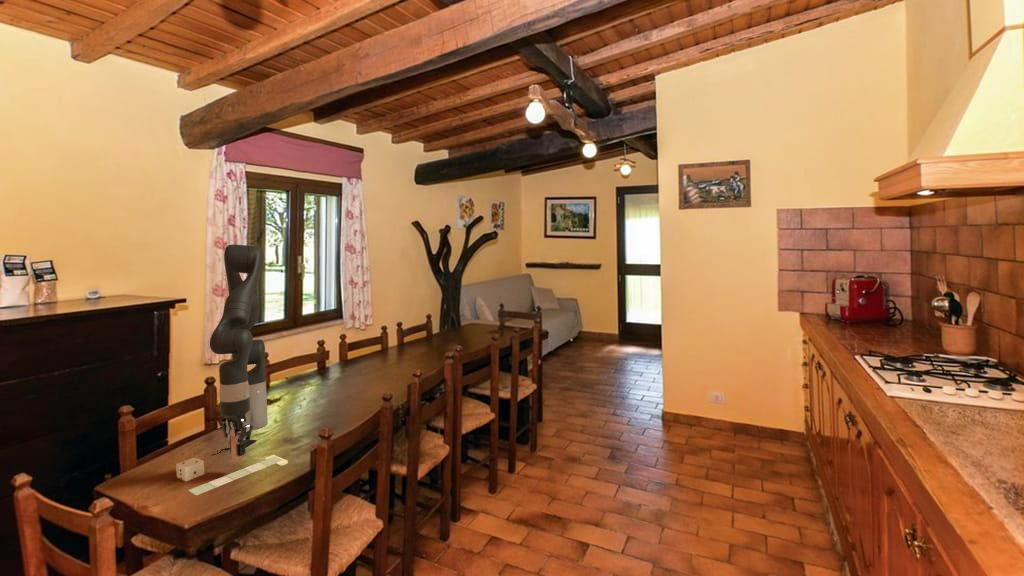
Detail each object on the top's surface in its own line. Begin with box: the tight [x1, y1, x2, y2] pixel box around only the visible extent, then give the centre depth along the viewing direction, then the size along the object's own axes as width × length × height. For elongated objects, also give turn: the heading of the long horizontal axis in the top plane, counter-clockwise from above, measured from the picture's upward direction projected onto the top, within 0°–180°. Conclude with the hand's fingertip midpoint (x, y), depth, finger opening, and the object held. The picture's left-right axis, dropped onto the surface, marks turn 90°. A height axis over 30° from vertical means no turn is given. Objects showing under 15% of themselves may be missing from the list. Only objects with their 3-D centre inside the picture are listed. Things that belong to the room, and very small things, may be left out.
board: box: [187, 454, 289, 496], centre depth 137 cm, size 8×26×1 cm, turn 148°
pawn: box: [230, 429, 245, 460], centre depth 136 cm, size 3×3×9 cm
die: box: [175, 457, 205, 482], centre depth 136 cm, size 5×5×5 cm
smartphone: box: [209, 439, 258, 457], centre depth 156 cm, size 7×1×15 cm
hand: (237, 453), depth 136 cm, fingers closed on pawn, 3 cm apart
